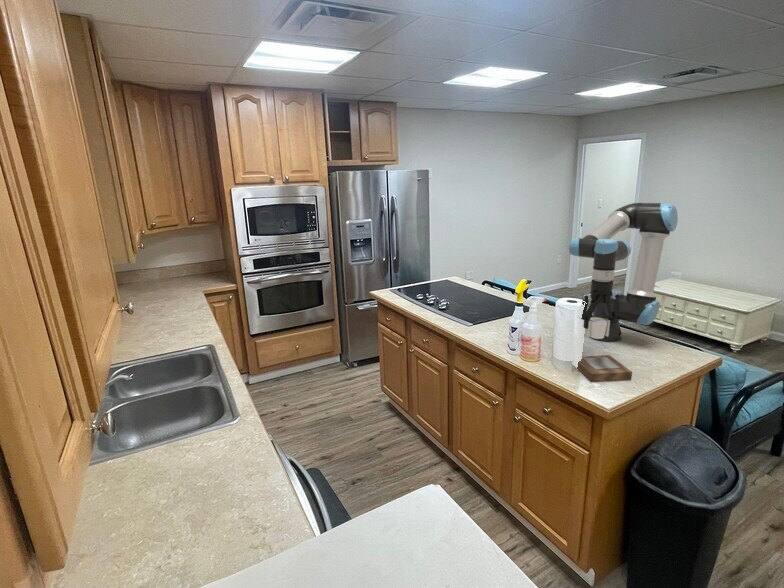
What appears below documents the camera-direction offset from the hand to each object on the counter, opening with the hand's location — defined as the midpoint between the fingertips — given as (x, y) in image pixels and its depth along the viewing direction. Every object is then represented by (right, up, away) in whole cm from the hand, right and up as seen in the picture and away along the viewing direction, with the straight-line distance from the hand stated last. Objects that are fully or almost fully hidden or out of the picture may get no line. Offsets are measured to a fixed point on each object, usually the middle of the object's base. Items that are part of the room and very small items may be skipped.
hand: (596, 335), depth 168 cm
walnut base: (+3, -15, +2) cm, 15 cm away
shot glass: (0, -1, 0) cm, 1 cm away
